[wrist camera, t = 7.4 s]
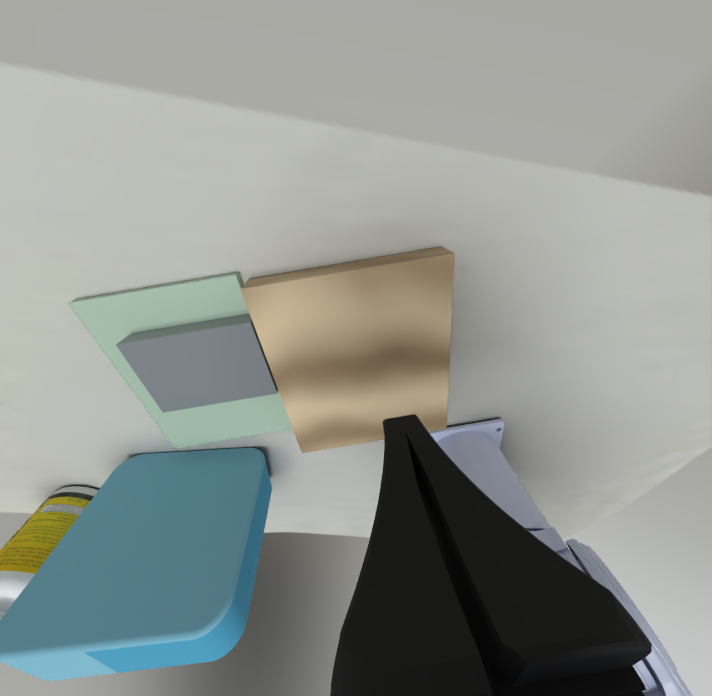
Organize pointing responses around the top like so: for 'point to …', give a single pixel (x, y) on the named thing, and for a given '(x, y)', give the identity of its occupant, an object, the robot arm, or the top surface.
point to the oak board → (358, 344)
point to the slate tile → (200, 363)
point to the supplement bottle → (38, 540)
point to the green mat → (171, 308)
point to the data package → (147, 570)
